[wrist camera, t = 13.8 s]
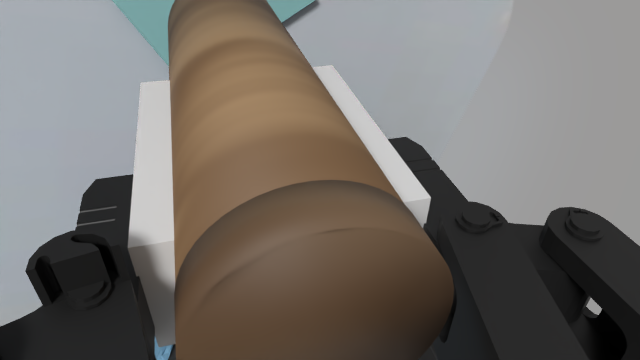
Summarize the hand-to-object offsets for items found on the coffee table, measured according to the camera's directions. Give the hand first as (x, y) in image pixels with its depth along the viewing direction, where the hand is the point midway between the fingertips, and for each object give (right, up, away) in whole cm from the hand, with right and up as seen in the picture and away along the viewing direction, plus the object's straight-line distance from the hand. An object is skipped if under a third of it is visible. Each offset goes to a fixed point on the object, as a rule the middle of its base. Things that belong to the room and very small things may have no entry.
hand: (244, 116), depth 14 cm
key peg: (-1, +4, +4) cm, 5 cm away
